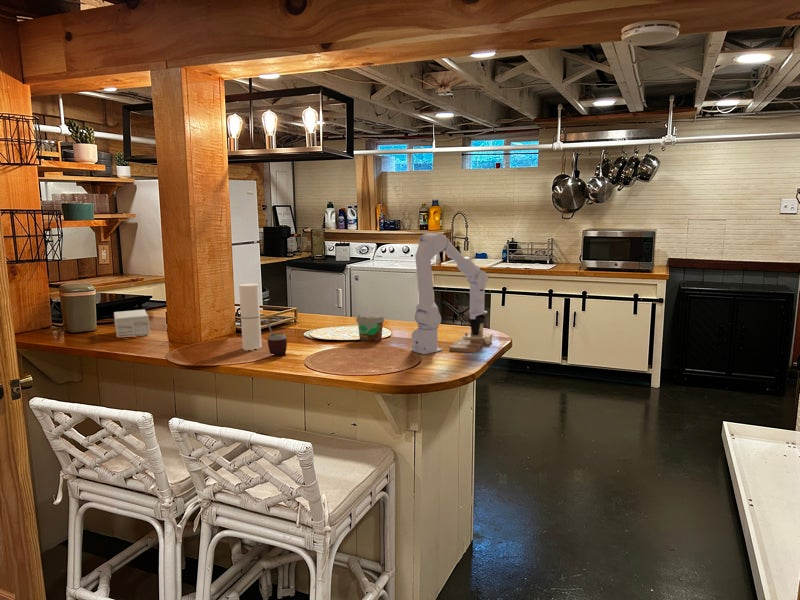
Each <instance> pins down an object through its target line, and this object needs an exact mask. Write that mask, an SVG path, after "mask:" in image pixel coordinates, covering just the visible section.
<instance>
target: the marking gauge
mask: <svg viewBox="0 0 800 600" xmlns="http://www.w3.org/2000/svg"><path fill="white" fill-rule="evenodd" d="M462 337H463V339H468V340H482V341H485V344H484V345H487V346H488V345H490V344H491V343H492V342H493V332H492V333H490V332H489V333H487V334H486V335H485V334H484V322H483V323H480V328H479V334H478V335H473V334H472V330H471V329H470V334H469V333H468V332H465V334H464V335H463V336H462Z"/></svg>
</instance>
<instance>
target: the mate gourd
mask: <svg viewBox="0 0 800 600" xmlns="http://www.w3.org/2000/svg"><path fill="white" fill-rule="evenodd" d="M261 319H262V320H263V321H264V322H265V323H266V325H267V327H268V329H269V331H270V334H269V336H268V337H267V347H268V350H269V355H270V354H274V355H275V356H273V358H274V357H276V358H278V357H286V356H287V354H286V353H287V346H288V339H287V335H285V334H284V333H282V332H274V333H273V330H272V328H271V326H270V325H271V324H270V322H269V321H267V319H265V318H263V317H261ZM277 356H278V357H277Z"/></svg>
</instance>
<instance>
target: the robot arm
mask: <svg viewBox="0 0 800 600" xmlns="http://www.w3.org/2000/svg"><path fill="white" fill-rule="evenodd" d="M417 243H418V246H417V249H416V252H415V267H416V268H415V269H416V278H417V280H416V281H417V290H418V301H419V302H418V304H417V305H416V306H415V312H414V321H415V322H416V323H417V328H416V329H414V330H413V331H412V333H411V349H410V351H411V352H414V353H418V354H422V355H428V354H432V353H433V354H434V353H437V352H440V351H443V348H439V345H438V329H439V326H440V325H441V323H442V316H441V314H440V311H439V307H438V306H437V303H435V296H434V285H433V273H432V272H433V271H432V259H433V258H434V257H435V256H436V255H438V254H440V253H441V252H444V254H446V255H447V256H448V257H449V258H450V259H451V260H453V261H454V262H455V263H456V267H457V269H458V270H459V271H460V272H461V273H462V274H463V275H464V276H465V277H466V281H467V282H468V283H469V311H468V312H469V313H468V314H469V316H467V321H468V323H469V325H470V331H471V330H472V334H473V335H478V334H479V328H480V323H483V324H484V321H485V320H486V317H487V315H486V314H488V310H485V298H486V297H485V296H486V295H485V289H486V286H487V285H486V284H487V282H488V280H489V277H488V275H487V273H486V271H484V270H483V269H480V267H479V265H477V264H475V263H474V262H473V258H471V257H468V256H463V254H461V252H459V251H458V249H457V248H456V247H455V246H454V244H452V243H451V241H450V239H449V238H448V237H447V236H446V235H445V234H443V233H430V232H425V233H423V234H422V235H421V236H420V237H419V238H418V240H417Z"/></svg>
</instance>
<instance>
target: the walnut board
mask: <svg viewBox="0 0 800 600" xmlns="http://www.w3.org/2000/svg"><path fill="white" fill-rule="evenodd" d="M484 345H486V344H485V341H482V340H468V339H463V336H461V337H460V338H459V339H457V340H456V341H455V342H454V343H453V344H451V345H450V346H449V351H450V352H461V353H470V352H471V353H473V354H475V353H477V352H478V351H479V350H480V349H481V348H482V347H484Z"/></svg>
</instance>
